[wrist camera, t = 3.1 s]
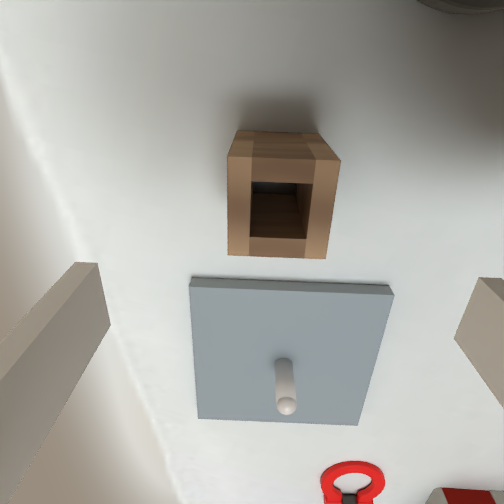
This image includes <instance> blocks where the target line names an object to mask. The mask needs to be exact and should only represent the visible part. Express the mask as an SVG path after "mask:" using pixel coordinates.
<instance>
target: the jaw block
mask: <svg viewBox="0 0 504 504" xmlns="http://www.w3.org/2000/svg"><path fill="white" fill-rule="evenodd" d="M340 163H341V160H340V159H339V158H338V157H337V155H336V154H335V153H334V152H333V151H332V149H331V148H330V147H329V146H328V144H327V143H326V142H325V141H324V139H323V138H322V137H321V136H320V135H319V134H311V133H284V132H257V131H237V132H236V135H235V137H234V140H233V143H232V145H231V148H230V151H229V153H228V156H227V219H228V255H233V256H258V257H283V258H308V259H326V253H327V247H328V240H329V234H330V227H331V221H332V214H333V208H334V202H335V195H336V189H337V182H338V176H339V169H340ZM253 181H255V182H282V183H296V192H295V195H294V194H268V193H253Z"/></svg>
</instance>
